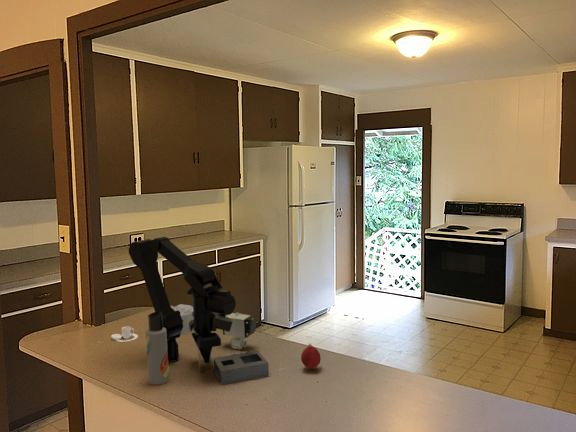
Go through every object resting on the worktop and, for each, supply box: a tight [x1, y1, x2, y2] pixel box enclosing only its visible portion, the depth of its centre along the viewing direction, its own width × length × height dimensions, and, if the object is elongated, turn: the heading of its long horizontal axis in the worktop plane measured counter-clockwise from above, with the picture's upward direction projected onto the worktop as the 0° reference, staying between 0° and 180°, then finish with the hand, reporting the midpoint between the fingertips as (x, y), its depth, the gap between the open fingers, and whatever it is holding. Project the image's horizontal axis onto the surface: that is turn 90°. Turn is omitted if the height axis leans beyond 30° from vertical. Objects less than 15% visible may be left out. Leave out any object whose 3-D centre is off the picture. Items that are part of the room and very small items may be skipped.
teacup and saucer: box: [110, 325, 139, 343], centre depth 177 cm, size 9×8×4 cm
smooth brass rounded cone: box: [197, 347, 214, 373], centre depth 148 cm, size 4×4×9 cm
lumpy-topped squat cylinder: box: [170, 303, 194, 335], centre depth 184 cm, size 10×13×9 cm
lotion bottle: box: [145, 311, 170, 386], centre depth 141 cm, size 6×6×20 cm
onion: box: [300, 343, 322, 371], centre depth 146 cm, size 6×6×8 cm
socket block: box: [212, 350, 270, 386], centre depth 145 cm, size 14×10×4 cm
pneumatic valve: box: [221, 312, 257, 350], centre depth 165 cm, size 6×12×12 cm, turn 66°
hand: (205, 359), depth 148 cm, fingers closed on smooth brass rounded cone, 4 cm apart
